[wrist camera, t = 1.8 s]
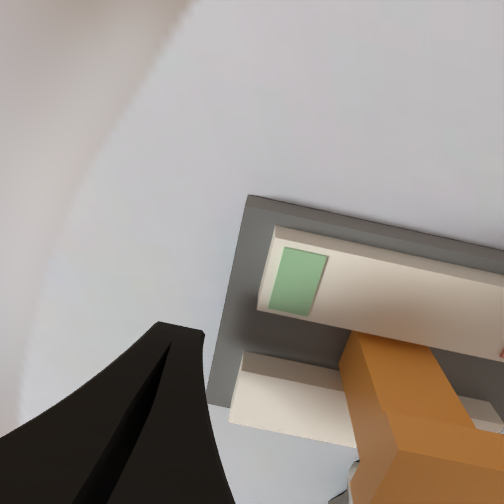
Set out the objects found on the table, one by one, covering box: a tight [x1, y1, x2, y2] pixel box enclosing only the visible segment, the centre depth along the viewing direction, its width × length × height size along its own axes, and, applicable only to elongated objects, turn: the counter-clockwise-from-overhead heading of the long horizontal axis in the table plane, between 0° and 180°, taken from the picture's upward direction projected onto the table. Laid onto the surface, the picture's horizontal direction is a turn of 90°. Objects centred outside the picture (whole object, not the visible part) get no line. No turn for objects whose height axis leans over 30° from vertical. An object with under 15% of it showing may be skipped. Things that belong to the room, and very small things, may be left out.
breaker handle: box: [338, 330, 504, 504], centre depth 10 cm, size 3×3×5 cm
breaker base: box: [206, 195, 504, 448], centre depth 13 cm, size 8×11×2 cm
